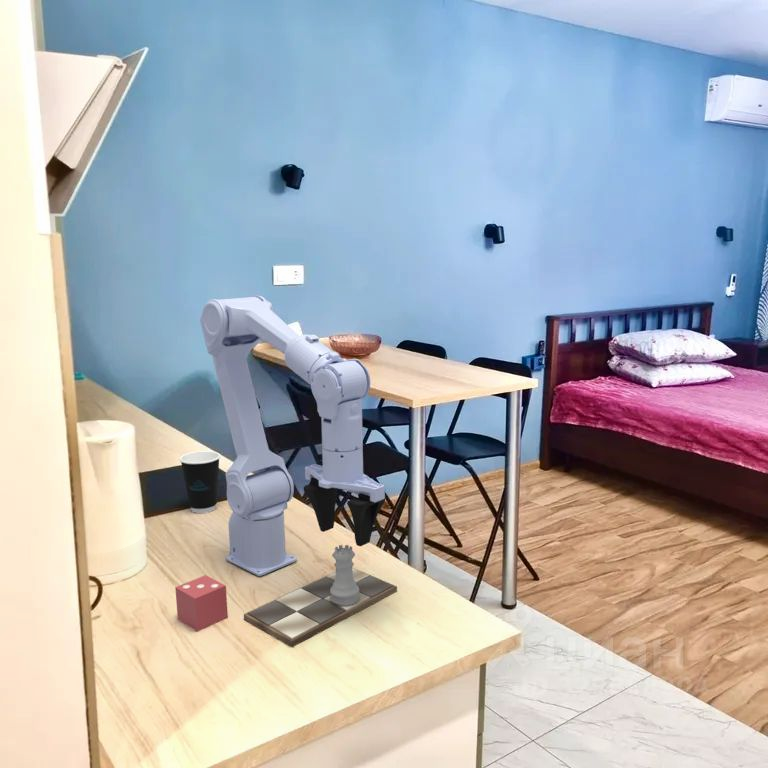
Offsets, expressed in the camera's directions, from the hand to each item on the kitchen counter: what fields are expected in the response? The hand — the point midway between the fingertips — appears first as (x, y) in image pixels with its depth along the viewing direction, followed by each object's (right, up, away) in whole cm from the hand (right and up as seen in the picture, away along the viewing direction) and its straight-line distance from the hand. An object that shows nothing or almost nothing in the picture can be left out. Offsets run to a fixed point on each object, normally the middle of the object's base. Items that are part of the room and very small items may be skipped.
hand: (344, 536), depth 104 cm
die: (-20, -11, -2) cm, 23 cm away
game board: (-3, -10, +1) cm, 11 cm away
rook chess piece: (0, -10, +1) cm, 10 cm away
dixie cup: (-31, -3, +40) cm, 51 cm away
